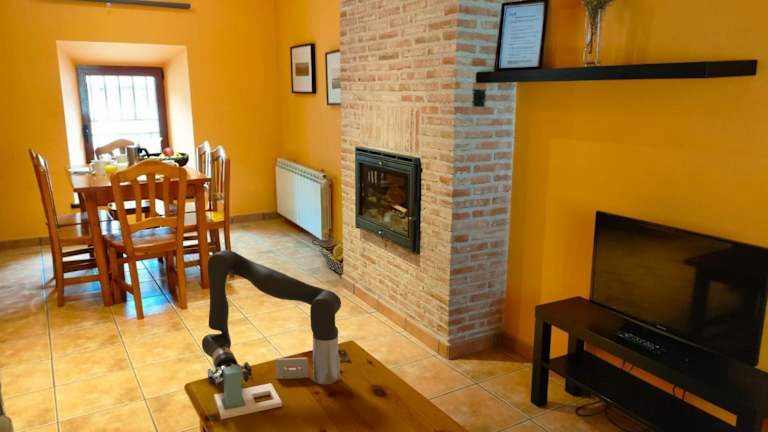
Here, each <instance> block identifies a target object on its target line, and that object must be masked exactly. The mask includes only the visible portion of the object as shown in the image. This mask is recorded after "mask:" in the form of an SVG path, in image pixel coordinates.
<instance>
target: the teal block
mask: <svg viewBox="0 0 768 432" xmlns="http://www.w3.org/2000/svg"><path fill="white" fill-rule="evenodd" d="M223 378H224V379H223V393H224V400H225V403H226V405H227V407H232V406H237V405H241V404H242V389H243V385H242V383H243V382H242V379H243V377H242V376H241V370H240V368H239V366H238V365H235V366H229V367H224V368H223Z"/></svg>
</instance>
